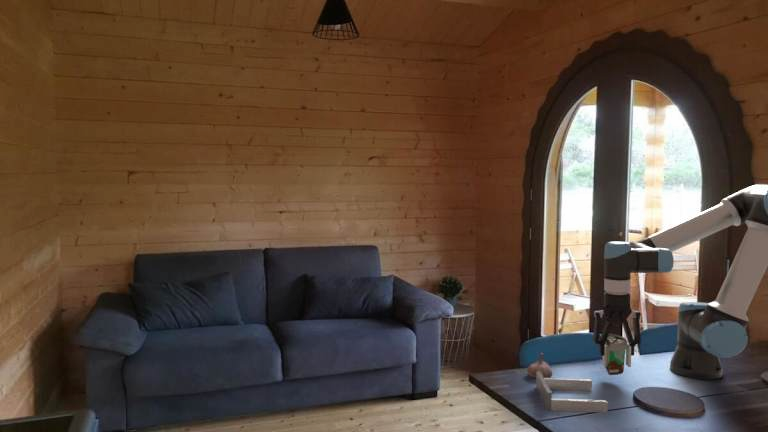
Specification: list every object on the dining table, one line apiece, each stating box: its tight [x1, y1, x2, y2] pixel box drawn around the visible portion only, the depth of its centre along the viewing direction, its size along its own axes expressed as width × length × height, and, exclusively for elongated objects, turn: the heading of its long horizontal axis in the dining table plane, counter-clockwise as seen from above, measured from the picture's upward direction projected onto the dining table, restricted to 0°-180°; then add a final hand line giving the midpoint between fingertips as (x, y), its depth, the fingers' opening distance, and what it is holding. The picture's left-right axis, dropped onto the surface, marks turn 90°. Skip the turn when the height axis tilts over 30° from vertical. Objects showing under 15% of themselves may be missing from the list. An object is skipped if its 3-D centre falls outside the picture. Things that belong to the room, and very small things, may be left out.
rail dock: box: [535, 371, 609, 414], centre depth 171 cm, size 16×17×5 cm
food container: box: [604, 333, 629, 376], centre depth 184 cm, size 12×6×10 cm, turn 169°
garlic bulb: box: [527, 352, 553, 379], centre depth 190 cm, size 8×7×8 cm
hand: (616, 365), depth 184 cm, fingers closed on food container, 6 cm apart
